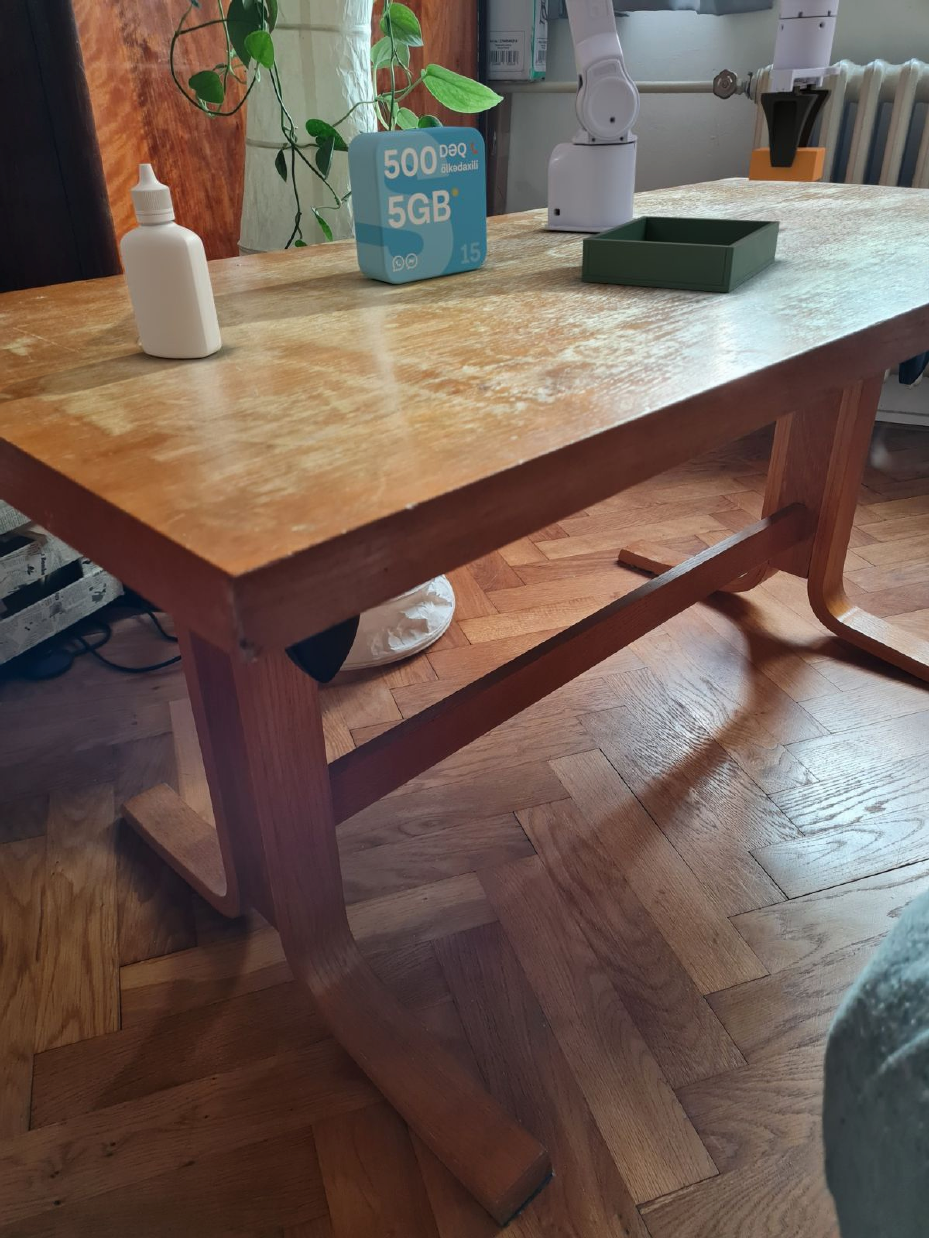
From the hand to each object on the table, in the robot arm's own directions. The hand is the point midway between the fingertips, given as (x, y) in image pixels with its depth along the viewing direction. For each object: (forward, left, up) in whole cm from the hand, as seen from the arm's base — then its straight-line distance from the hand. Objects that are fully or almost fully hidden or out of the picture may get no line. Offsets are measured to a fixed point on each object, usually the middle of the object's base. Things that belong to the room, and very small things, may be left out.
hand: (786, 165), depth 99 cm
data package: (-23, -40, -6) cm, 46 cm away
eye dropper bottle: (-24, -70, -6) cm, 74 cm away
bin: (-1, -31, -6) cm, 31 cm away
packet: (0, 0, -1) cm, 1 cm away
